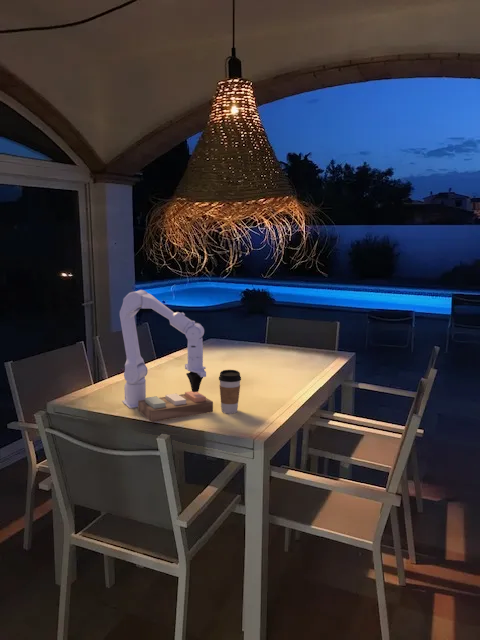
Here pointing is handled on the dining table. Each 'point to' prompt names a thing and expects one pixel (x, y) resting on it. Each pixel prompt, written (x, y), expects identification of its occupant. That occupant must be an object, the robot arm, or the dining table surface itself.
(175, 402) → the cream button
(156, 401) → the sage button
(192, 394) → the terracotta button
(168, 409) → the button board
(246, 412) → the dining table surface
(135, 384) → the robot arm
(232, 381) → the coffee cup
